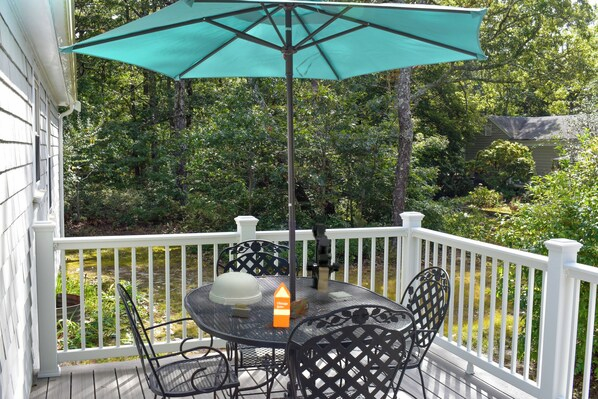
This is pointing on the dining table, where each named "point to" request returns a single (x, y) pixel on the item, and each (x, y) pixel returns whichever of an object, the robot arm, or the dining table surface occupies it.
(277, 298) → the orange juice
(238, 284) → the dome cover
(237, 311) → the platform
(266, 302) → the dining table surface
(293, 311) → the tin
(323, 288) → the oak block
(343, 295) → the stone trivet
